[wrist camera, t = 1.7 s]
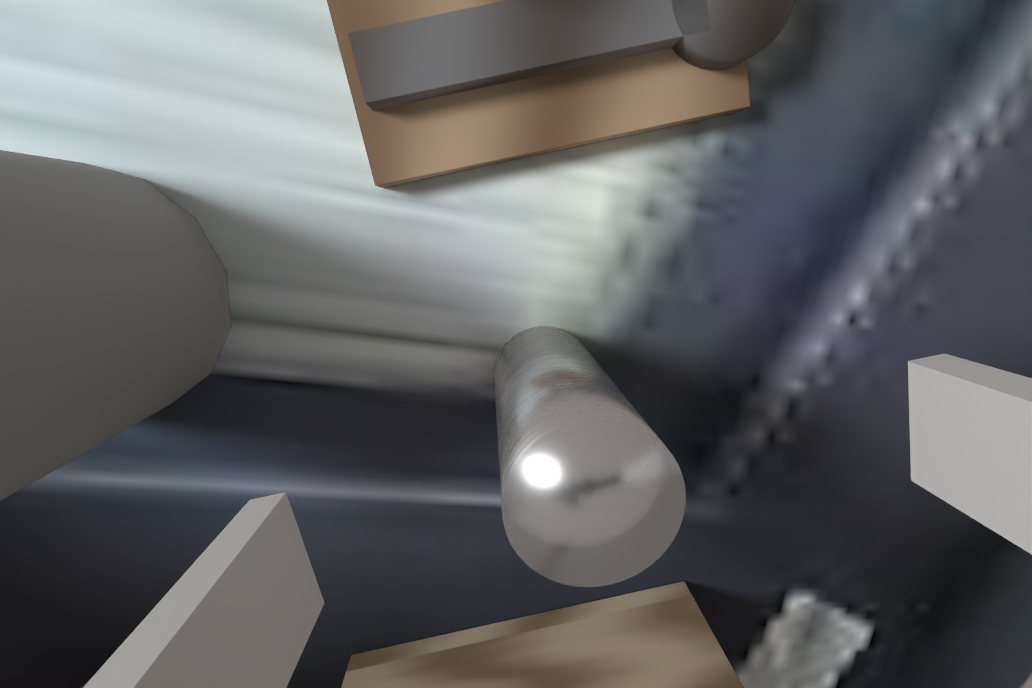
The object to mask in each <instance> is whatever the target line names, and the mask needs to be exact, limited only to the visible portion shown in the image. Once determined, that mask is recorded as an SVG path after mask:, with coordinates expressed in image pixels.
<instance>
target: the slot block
mask: <svg viewBox="0 0 1032 688" xmlns="http://www.w3.org/2000/svg"><path fill="white" fill-rule="evenodd" d="M341 688H744V687H743V686H742V684H741V682H740V680H739V678H738V677H737V675H736V673H735V671H734V670H733V668H732V666H731V664H730V662H729V661H728V659H727V657H726V655H725V653H724V652H723V650H722V648H721V646H720V645H719V643H718V641H717V639H716V637H715V636H714V634H713V632H712V630H711V628H710V627H709V625H708V623H707V621H706V620H705V618H704V616H703V614H702V612H701V611H700V609H699V607H698V605H697V603H696V602H695V600H694V598H693V596H692V595H691V593H690V591H689V589H688V587H687V586H686V584H685V582H684V581H683V582H678V583H674V584H669V585H665V586H660V587H656V588H651V589H647V590H642V591H638V592H633V593H629V594H624V595H620V596H615V597H611V598H606V599H602V600H597V601H593V602H588V603H584V604H579V605H575V606H570V607H566V608H561V609H557V610H552V611H548V612H543V613H539V614H534V615H530V616H525V617H521V618H516V619H512V620H507V621H503V622H498V623H494V624H489V625H485V626H480V627H476V628H471V629H467V630H462V631H458V632H453V633H449V634H444V635H440V636H435V637H431V638H426V639H421V640H417V641H412V642H408V643H403V644H399V645H394V646H390V647H385V648H381V649H376V650H372V651H367V652H363V653H358V654H354V655H351V657H350V661H349V664H348V667H347V670H346V674H345V677H344V680H343V683H342V686H341Z"/></svg>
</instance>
